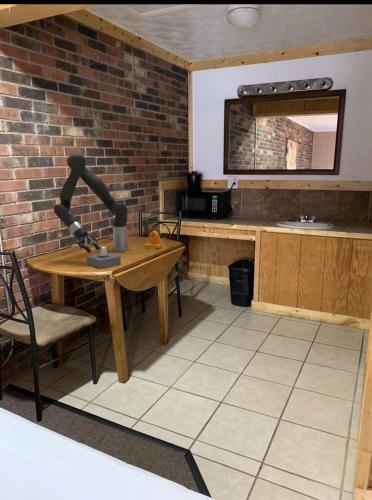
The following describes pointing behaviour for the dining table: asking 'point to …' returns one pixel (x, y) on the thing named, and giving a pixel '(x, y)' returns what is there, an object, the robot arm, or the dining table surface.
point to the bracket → (154, 241)
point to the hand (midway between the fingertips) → (94, 250)
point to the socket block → (103, 260)
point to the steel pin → (103, 251)
